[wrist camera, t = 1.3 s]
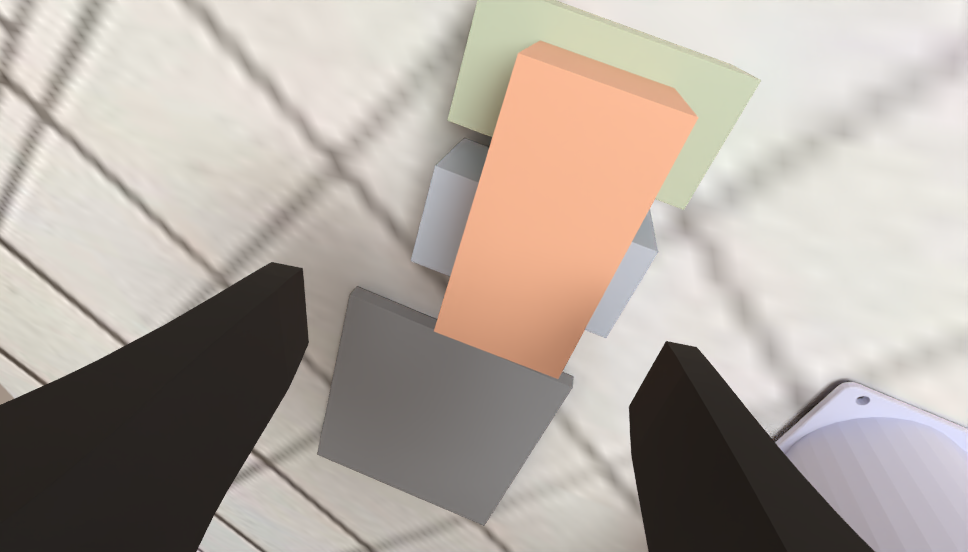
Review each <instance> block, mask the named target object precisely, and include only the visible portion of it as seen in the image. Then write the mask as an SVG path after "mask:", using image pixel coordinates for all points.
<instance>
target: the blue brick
mask: <svg viewBox="0 0 968 552" xmlns="http://www.w3.org/2000/svg"><path fill="white" fill-rule="evenodd" d="M488 150H489V147H486V146H484V145H481V144H479V143H476V142H473V141H471V140H468V139H466V138H464V139H463V140H462V141H461V142H460V143H459V144H457V145H456V146H455V147H454V148H453V149H452V150H451V151H450V152H449V153H448V154H447V155H446V156H445V157H444V158H443V159H442V160H441V161H440V162H438V163H437V164H436V165H435V168H434V172H433V176H432V180H431V184H430V188H429V192H428V195H427V199H426V203H425V207H424V211H423V215H422V219H421V223H420V227H419V231H418V235H417V238H416V242H415V246H414V250H413V254H412V258H411V261H412V262H414V263H417V264H420V265H422V266H425V267H427V268H430V269H432V270H435V271H437V272H440V273H442V274H445V275H447V276H451V273H452V269H453V266H454V263H455V259H456V256H457V253H458V249H459V246H460V243H461V240H462V236H463V233H464V230H465V226H466V223H467V220H468V216H469V213H470V210H471V207H472V203H473V200H474V197H475V193H476V190H477V187H478V183H479V180H480V177H481V174H482V170H483V167H484V164H485V160H486V157H487V154H488ZM657 253H658V249H657V243H656V238H655V233H654V228H653V222H652V217H651V212H650V209H649V211H648V213H647V215H646V217H645V218H644V220H643V222H642V224H641V226H640V228H639V230H638V231H637V233H636V235H635V237H634V239H633V241H632V243H631V245H630V246H629V248H628V250H627V252H626V254H625V256H624V258H623V259H622V261H621V263H620V265H619V267H618V269H617V271H616V272H615V274H614V276H613V278H612V280H611V282H610V284H609V286H608V287H607V289H606V291H605V293H604V295H603V297H602V299H601V300H600V302H599V304H598V306H597V308H596V310H595V312H594V313H593V315H592V317H591V319H590V321H589V323H588V325H587V326H586V328H585V330H587V331H589V332H592V333H594V334H597V335H599V336H602V337H604V338H607V336H608V334H609V333H610V331H611V329H612V328H613V326H614V324H615V323H616V321H617V319H618V318H619V316H620V314H621V313H622V311H623V309H624V308H625V306H626V304H627V303H628V301H629V300H630V298H631V296H632V295H633V293H634V291H635V290H636V288H637V286H638V285H639V283H640V281H641V280H642V278H643V276H644V275H645V273H646V271H647V270H648V268H649V266H650V265H651V263H652V261H653V260H654V258H655V256H656V255H657Z"/></svg>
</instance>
